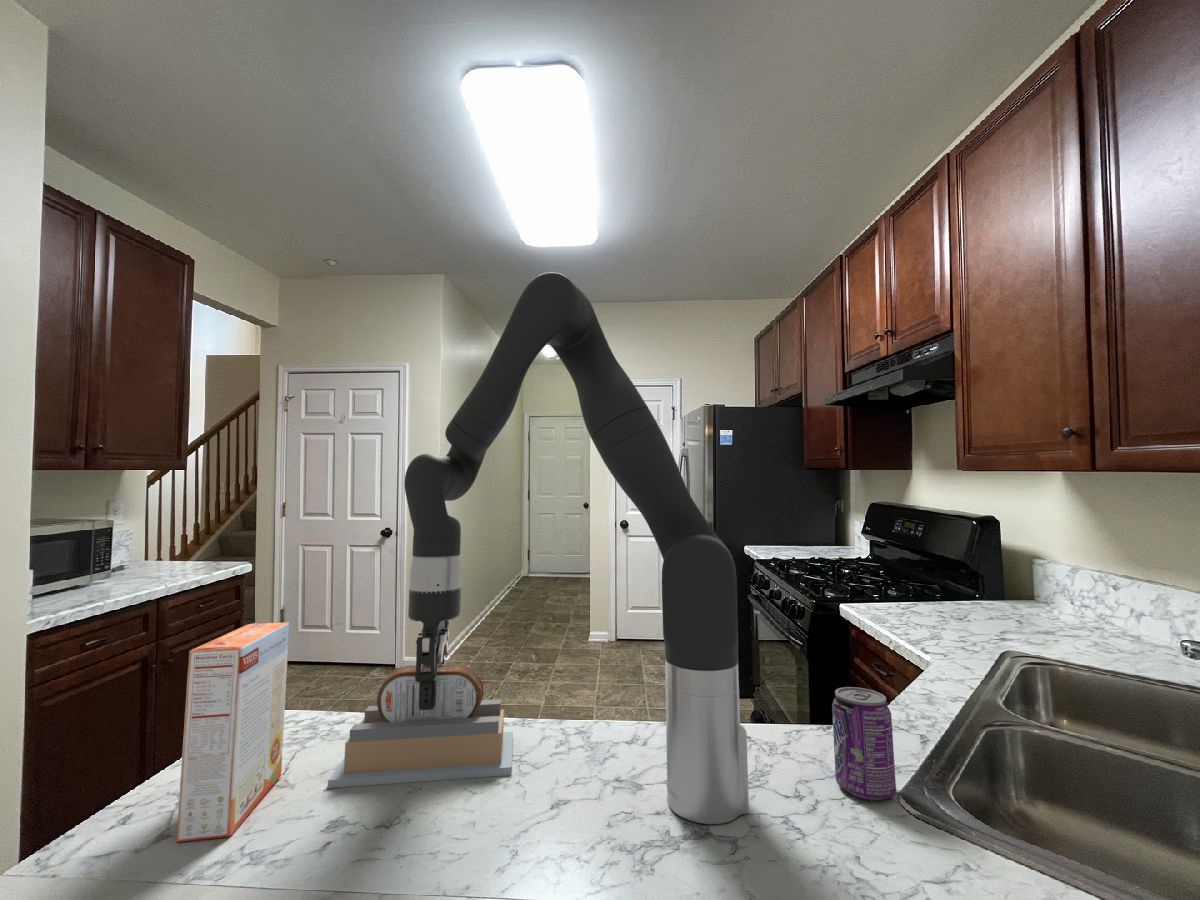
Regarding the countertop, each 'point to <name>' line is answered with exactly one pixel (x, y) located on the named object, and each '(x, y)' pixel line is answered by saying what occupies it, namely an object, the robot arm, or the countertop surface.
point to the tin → (453, 694)
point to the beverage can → (863, 743)
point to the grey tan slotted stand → (425, 749)
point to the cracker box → (232, 728)
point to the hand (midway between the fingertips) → (431, 699)
